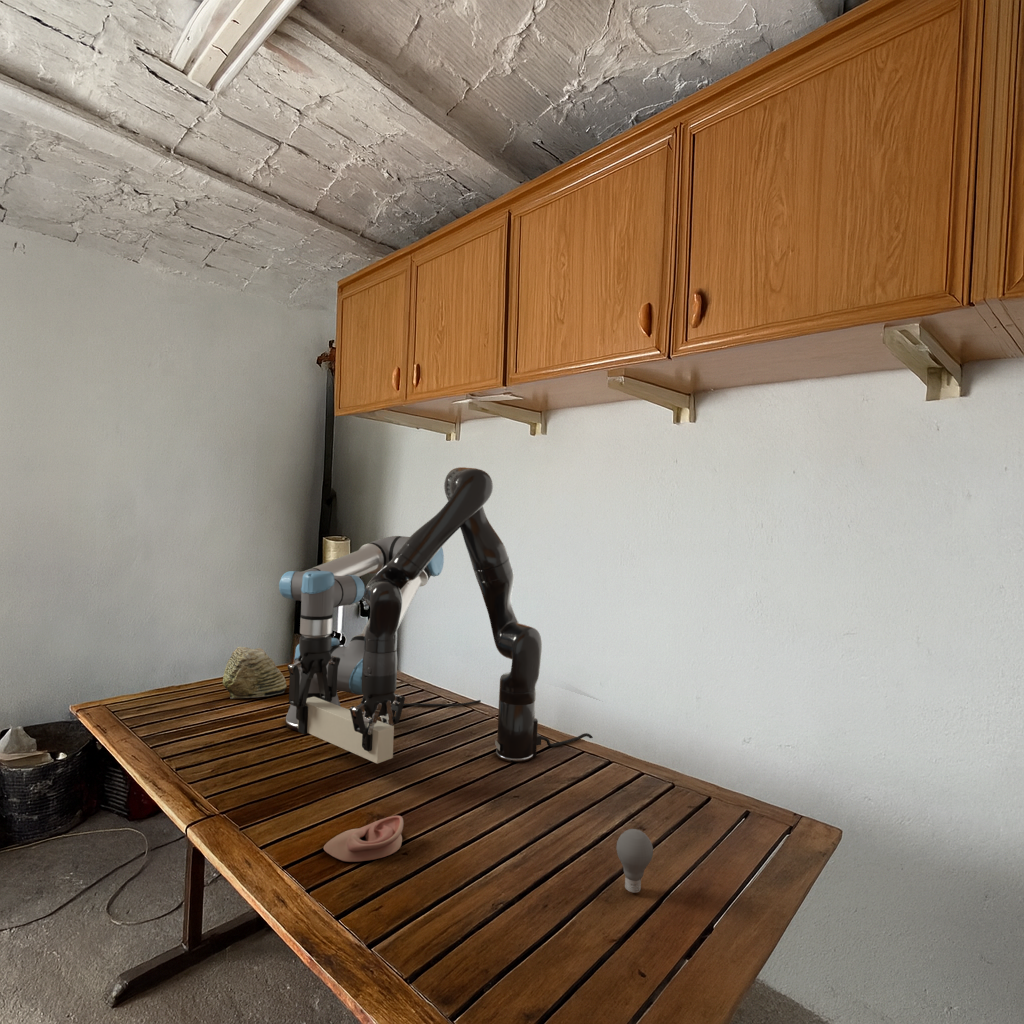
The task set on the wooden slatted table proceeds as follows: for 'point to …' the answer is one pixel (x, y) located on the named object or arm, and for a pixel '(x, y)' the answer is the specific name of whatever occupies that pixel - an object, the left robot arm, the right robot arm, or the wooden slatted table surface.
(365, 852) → the anatomical model
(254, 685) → the fossil
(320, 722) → the beam
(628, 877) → the light bulb
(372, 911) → the wooden slatted table surface
